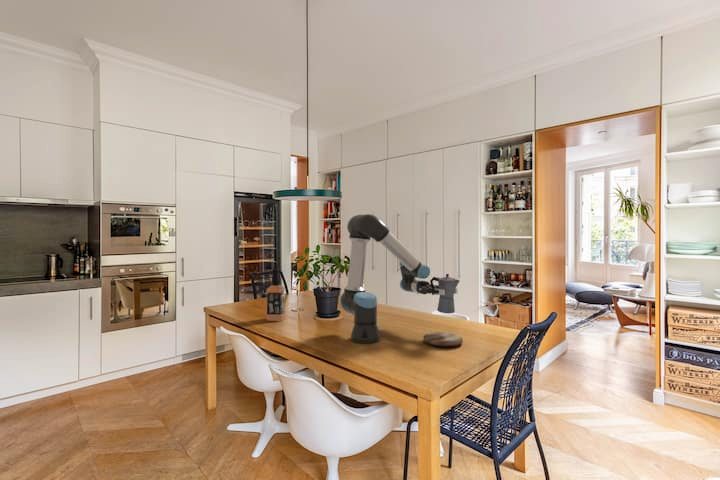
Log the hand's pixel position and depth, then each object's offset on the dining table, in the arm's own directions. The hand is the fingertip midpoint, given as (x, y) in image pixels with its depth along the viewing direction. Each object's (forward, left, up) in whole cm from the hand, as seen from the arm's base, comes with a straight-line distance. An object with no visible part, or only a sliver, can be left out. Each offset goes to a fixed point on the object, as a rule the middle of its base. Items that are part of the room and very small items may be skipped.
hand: (450, 291), depth 193 cm
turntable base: (+2, -9, -24) cm, 26 cm away
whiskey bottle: (-95, -51, -25) cm, 110 cm away
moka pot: (-3, 0, -11) cm, 12 cm away
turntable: (+2, -9, -23) cm, 25 cm away
